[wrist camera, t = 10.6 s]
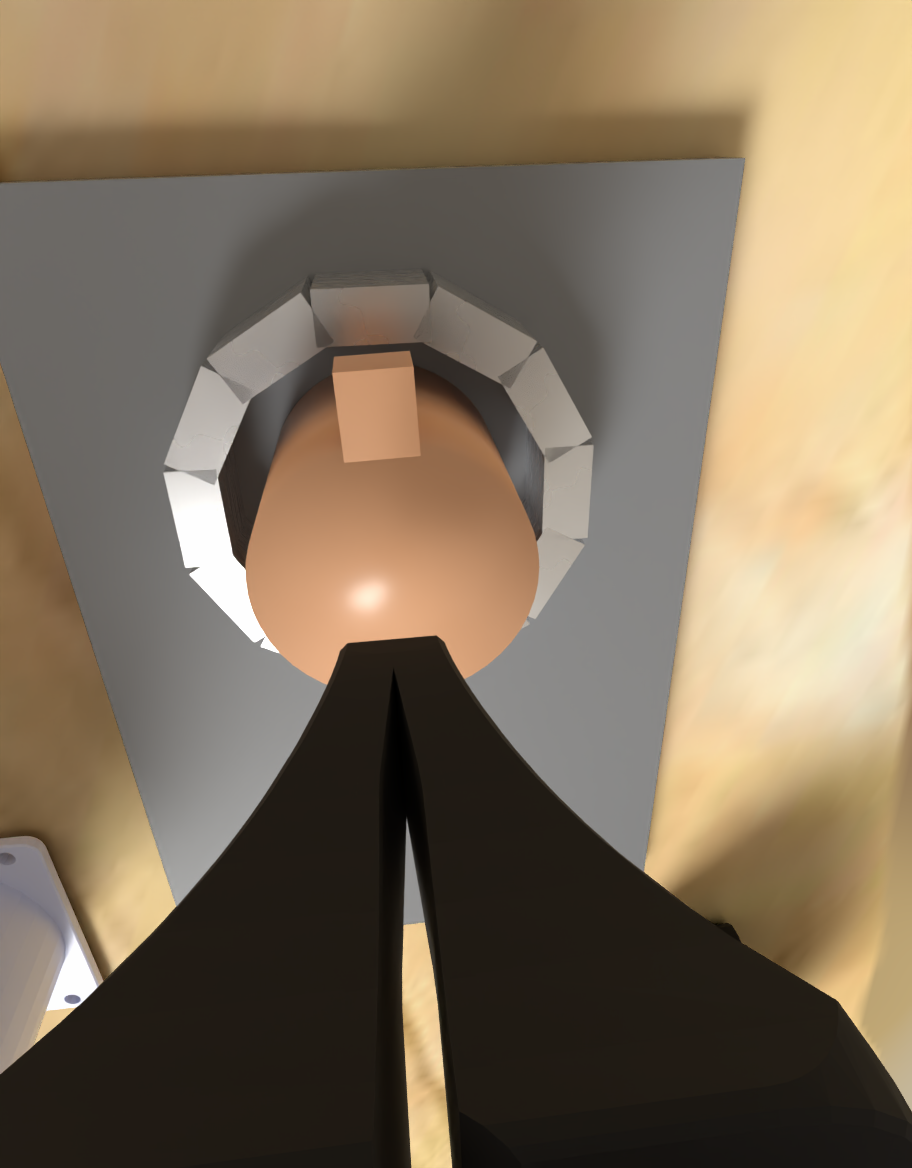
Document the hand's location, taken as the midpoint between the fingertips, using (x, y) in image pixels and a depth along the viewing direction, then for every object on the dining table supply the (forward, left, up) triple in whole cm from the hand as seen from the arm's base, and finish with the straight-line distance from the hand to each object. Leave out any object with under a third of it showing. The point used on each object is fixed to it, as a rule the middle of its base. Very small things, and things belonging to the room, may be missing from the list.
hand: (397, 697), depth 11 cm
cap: (0, 0, -8) cm, 8 cm away
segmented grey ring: (0, 0, -8) cm, 8 cm away
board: (0, -5, -9) cm, 10 cm away
